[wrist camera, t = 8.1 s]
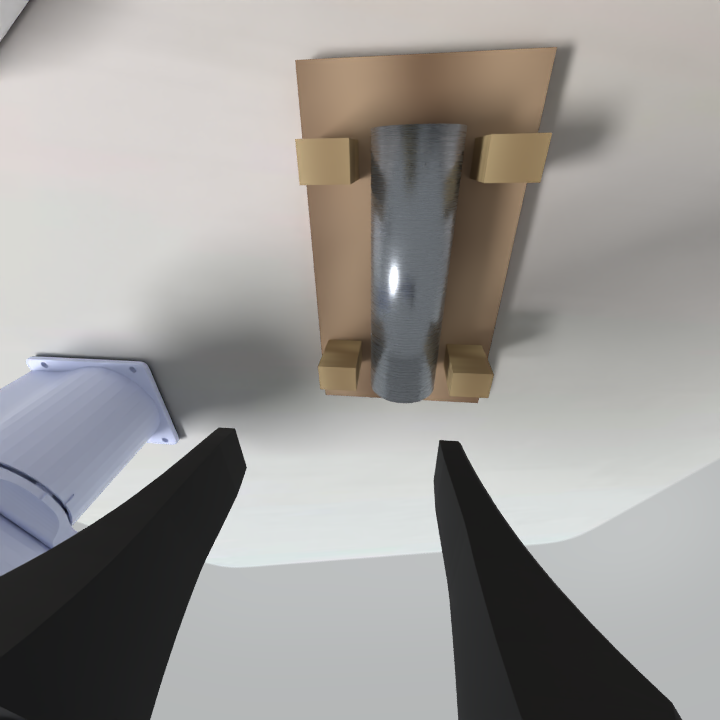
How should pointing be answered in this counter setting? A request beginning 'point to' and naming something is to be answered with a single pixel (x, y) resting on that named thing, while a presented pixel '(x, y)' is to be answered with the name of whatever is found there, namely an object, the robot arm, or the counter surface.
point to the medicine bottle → (9, 14)
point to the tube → (411, 251)
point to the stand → (474, 207)
